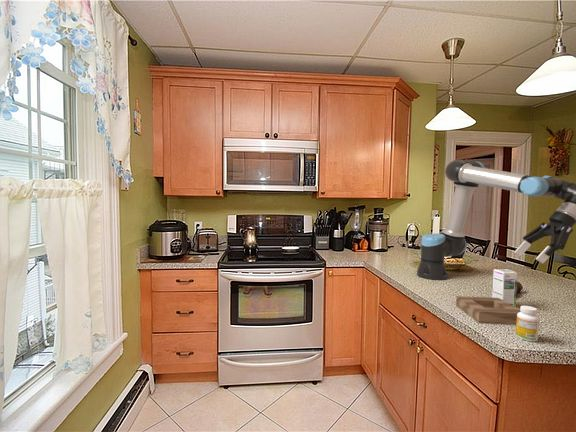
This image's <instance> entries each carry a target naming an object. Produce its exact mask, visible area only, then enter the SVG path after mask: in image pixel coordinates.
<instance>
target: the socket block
mask: <svg viewBox="0 0 576 432" xmlns="http://www.w3.org/2000/svg"><path fill="white" fill-rule="evenodd" d="M455 303H456V304H455V306H456V307H457V308H459V310H461V311H462V312H463V313H465V314H466V315H468V316H469V317H470V318H471V319H473V320H474V321H475V322H477V323H478V324H479V323H480V324H497V325H498V324H499V325H500V324H501V325H516V324H517V314H518V313H519V312H521V311H520V308H518V307H517V306H516V307H515V306H513V305H511V304H509V303H507V302H505V301H503V300H502V299H500V298H493V297H492V296H491V297H490V296H489V297H488V296H468V295H467V296H463V295H462V296H461V295H456V302H455Z"/></svg>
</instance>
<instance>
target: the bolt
mask: <svg viewBox="0 0 576 432" xmlns="http://www.w3.org/2000/svg"><path fill="white" fill-rule="evenodd" d="M522 290H524V287H523V285H522V283H521V282H519V281H517V292H516V295H517V294H519V293H520V292H522Z"/></svg>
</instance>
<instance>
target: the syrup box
mask: <svg viewBox="0 0 576 432" xmlns="http://www.w3.org/2000/svg"><path fill="white" fill-rule="evenodd" d="M492 273H493V274H492V275H493V279H492V296H491V297H493V298H500V299H502V300H503V301H505V302H507V303H509V304H511V305H513V306H515V307H516V308H517V294H516V292H517V282H518V272H516V271H515V270H512V269H507V268H505V269H499V268H497V269H493V271H492Z"/></svg>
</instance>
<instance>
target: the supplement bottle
mask: <svg viewBox="0 0 576 432" xmlns="http://www.w3.org/2000/svg"><path fill="white" fill-rule="evenodd" d="M519 309H520V311H521V312H519V313H518V314H517V324H515V326H516V327H515V336H516V337H517V338H518V339H520V338H521V340H522V341H527V342H531V343H532V342H534V343H535V342H537V341H538V340H539V327H540V317H539V316H538V315H537V313H538V308H536V307H534V306H530V305H521V306H520V308H519Z"/></svg>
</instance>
